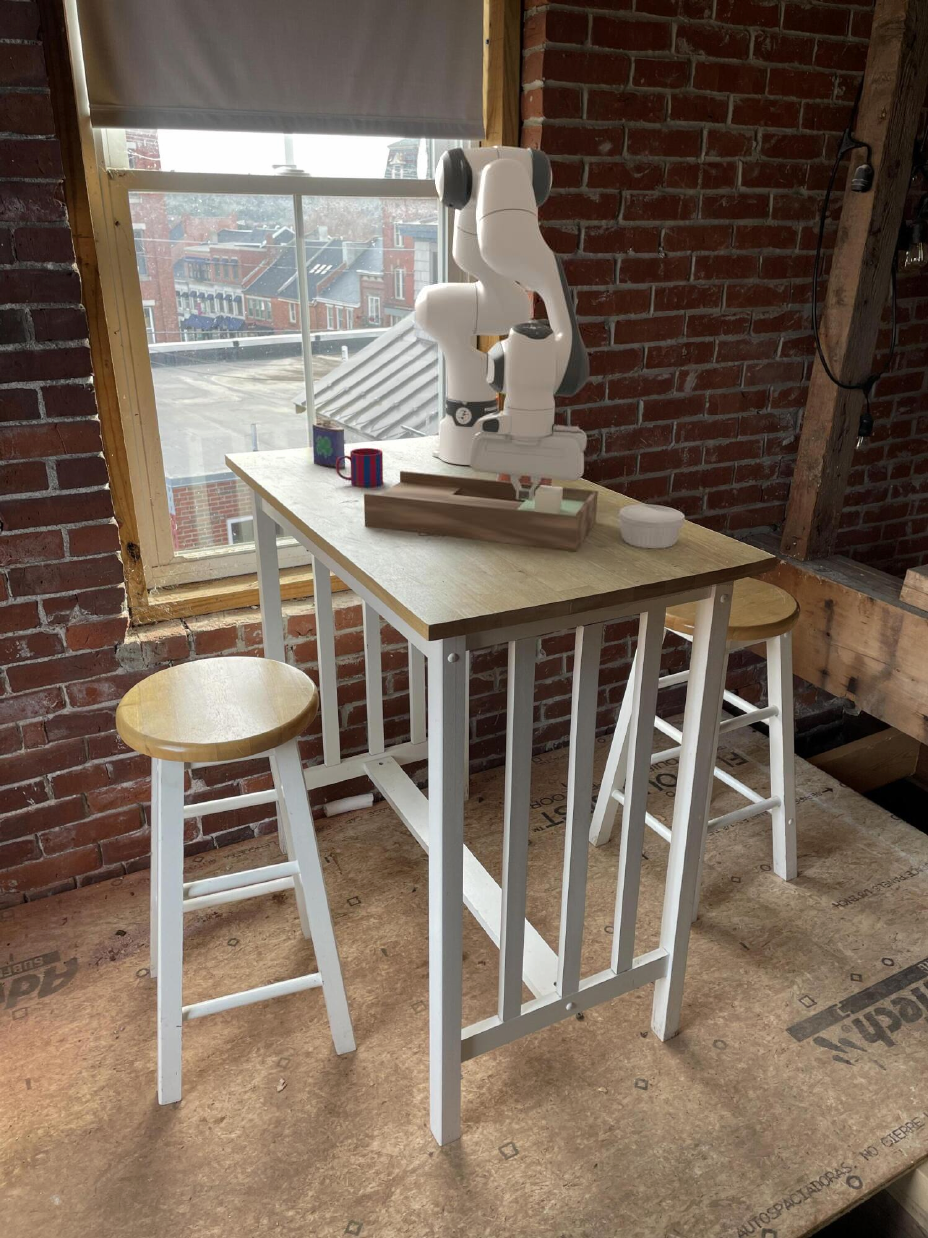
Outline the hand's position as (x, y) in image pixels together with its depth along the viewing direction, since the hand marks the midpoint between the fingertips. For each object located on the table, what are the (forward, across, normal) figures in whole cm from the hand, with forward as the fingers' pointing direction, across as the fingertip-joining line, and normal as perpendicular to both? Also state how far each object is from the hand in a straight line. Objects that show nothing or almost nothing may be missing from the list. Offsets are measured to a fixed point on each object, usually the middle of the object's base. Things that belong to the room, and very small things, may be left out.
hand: (524, 499), depth 163 cm
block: (+1, -4, +1) cm, 5 cm away
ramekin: (+6, -23, -1) cm, 23 cm away
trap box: (+5, +8, 0) cm, 10 cm away
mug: (+6, +40, -18) cm, 44 cm away
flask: (+6, +53, -30) cm, 61 cm away
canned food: (+6, +5, -20) cm, 22 cm away
